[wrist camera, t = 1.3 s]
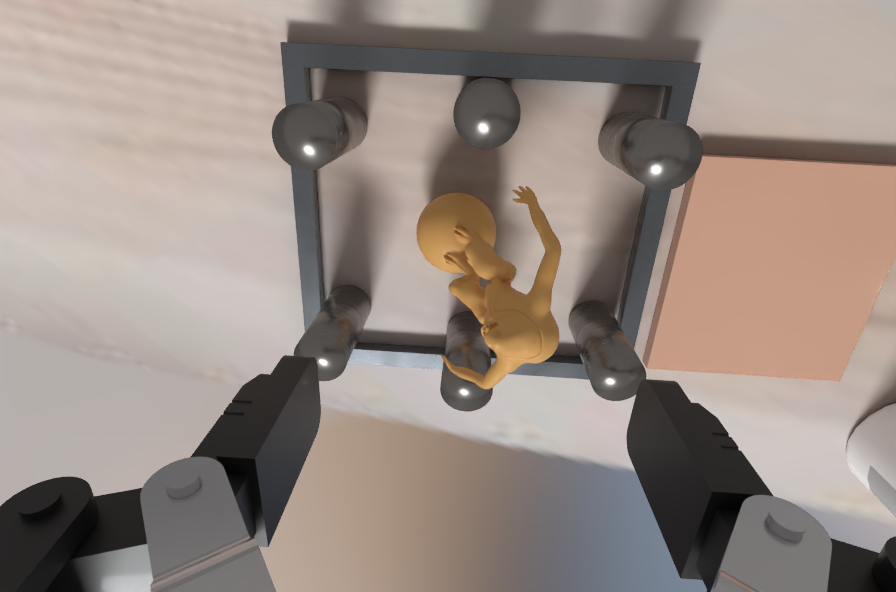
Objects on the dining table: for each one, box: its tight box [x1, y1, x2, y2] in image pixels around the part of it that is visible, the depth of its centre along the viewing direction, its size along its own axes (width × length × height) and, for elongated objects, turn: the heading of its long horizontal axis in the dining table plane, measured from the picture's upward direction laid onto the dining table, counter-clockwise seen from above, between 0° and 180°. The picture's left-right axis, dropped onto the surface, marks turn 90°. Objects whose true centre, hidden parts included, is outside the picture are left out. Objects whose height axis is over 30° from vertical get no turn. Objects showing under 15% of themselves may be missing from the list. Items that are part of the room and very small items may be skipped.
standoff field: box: [272, 42, 703, 411], centre depth 23 cm, size 19×17×6 cm
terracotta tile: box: [643, 154, 896, 381], centre depth 26 cm, size 11×12×1 cm
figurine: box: [417, 186, 561, 389], centre depth 21 cm, size 8×6×12 cm
